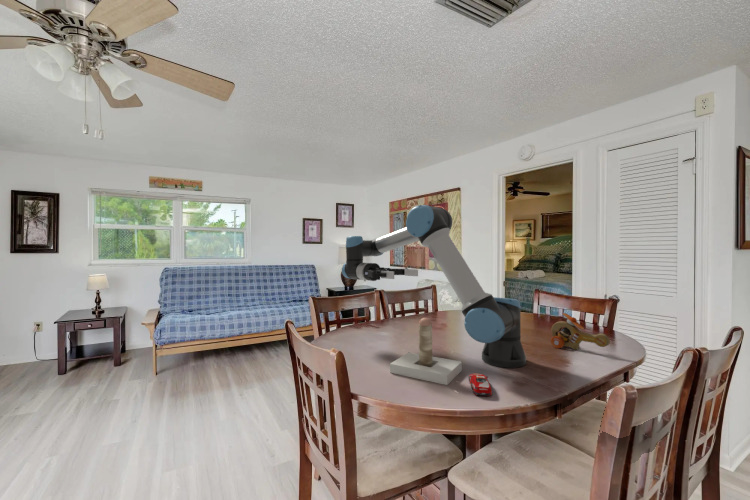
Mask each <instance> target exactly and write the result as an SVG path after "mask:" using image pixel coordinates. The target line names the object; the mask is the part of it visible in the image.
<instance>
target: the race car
mask: <svg viewBox="0 0 750 500" xmlns="http://www.w3.org/2000/svg"><path fill="white" fill-rule="evenodd" d="M488 378H489V376H486V375H485V374H482V373H475V372H474V373H470V374H469V375H468V381H469V385H470V387H471V388H470V389H471V391H472V393H473V395H475V396H482V397H483V396H488V397H491V396H492V394H493V393H492V392H493V390H492V386H491V384H490V382H489V380H488Z"/></svg>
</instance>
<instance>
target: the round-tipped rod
mask: <svg viewBox="0 0 750 500" xmlns="http://www.w3.org/2000/svg"><path fill="white" fill-rule="evenodd" d="M418 354H419V365H422V366H427V367H432V356H433V322H432V321H431V319H430V318H429V317H422V318H420V320H419V321H418Z"/></svg>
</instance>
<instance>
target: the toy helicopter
mask: <svg viewBox="0 0 750 500" xmlns="http://www.w3.org/2000/svg"><path fill="white" fill-rule="evenodd" d="M562 316H564V317H566V318H567V319H566V321H565V320H563V321H562V320H561V321H559V320H558V321H557V322H555V323H554V324H552V326H551V329H550V331H551V334H552V337H551V338H550V344H551V346H552V347H553V348H555V349H561V348H563V347H566V348H567V347H568V348H571V349H572V350H574V351H576V350H579V349H580V344H581V343H582V342H587V343H593V344H595V345H597V346H598V347H600V348H605V347H607V346H609V345H610V344H611V343H610V342H611V341H610V338H609V336H608V335H607V334H605V333H597V334H594V333H590V332H584V331H581V330H585V327H583V326H582V325H581V323H579V322H578V321H577V318H576V317H574V316H573V317H572V316H571V315H570V314H568V313H564V312H562ZM580 329H581V330H580Z"/></svg>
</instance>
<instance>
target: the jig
mask: <svg viewBox="0 0 750 500" xmlns="http://www.w3.org/2000/svg"><path fill="white" fill-rule="evenodd" d="M462 366H463V363H462V361H460V360H455V359H449V358H442V357H439V356H433V355H432V367H427V366H422V365H419V353H415V352H409V351H408V352H407V353H405V354H403V355H402V356H400V357H398V358H397V359H396V360H394V361H391V362H390V363H389V370H390V371H389V373H390V374H395V375H399V376H403V377H409V378H413V379H418V380H421V381H426V382H430V383H431V382H432V383H436V384H440V385H445V386H448V385H450V383H451V382H452V381H453V380H454V379H455V378H456V377H457V376H458V375H459V374H460V373H461V372H462V370H463V367H462Z"/></svg>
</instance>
